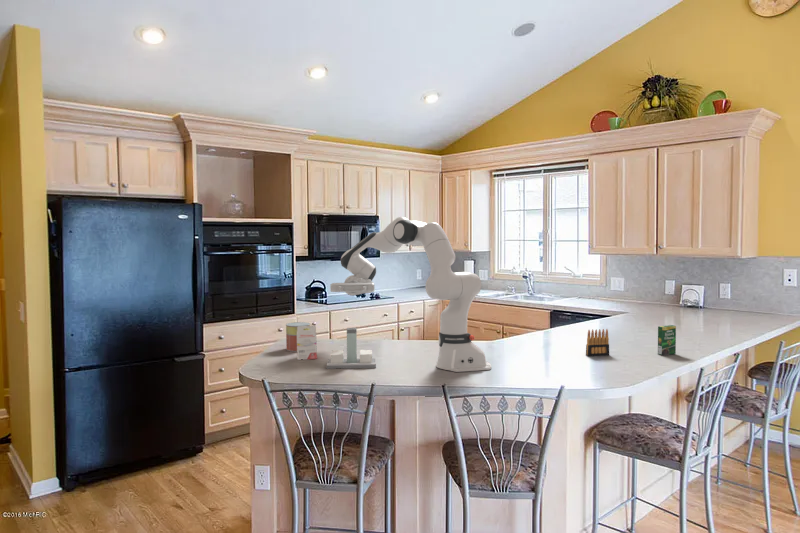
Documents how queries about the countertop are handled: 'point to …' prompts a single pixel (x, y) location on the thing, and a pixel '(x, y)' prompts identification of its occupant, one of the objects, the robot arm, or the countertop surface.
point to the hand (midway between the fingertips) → (352, 289)
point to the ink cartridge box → (306, 342)
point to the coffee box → (666, 340)
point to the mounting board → (340, 362)
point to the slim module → (351, 345)
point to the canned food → (293, 335)
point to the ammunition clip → (597, 343)
